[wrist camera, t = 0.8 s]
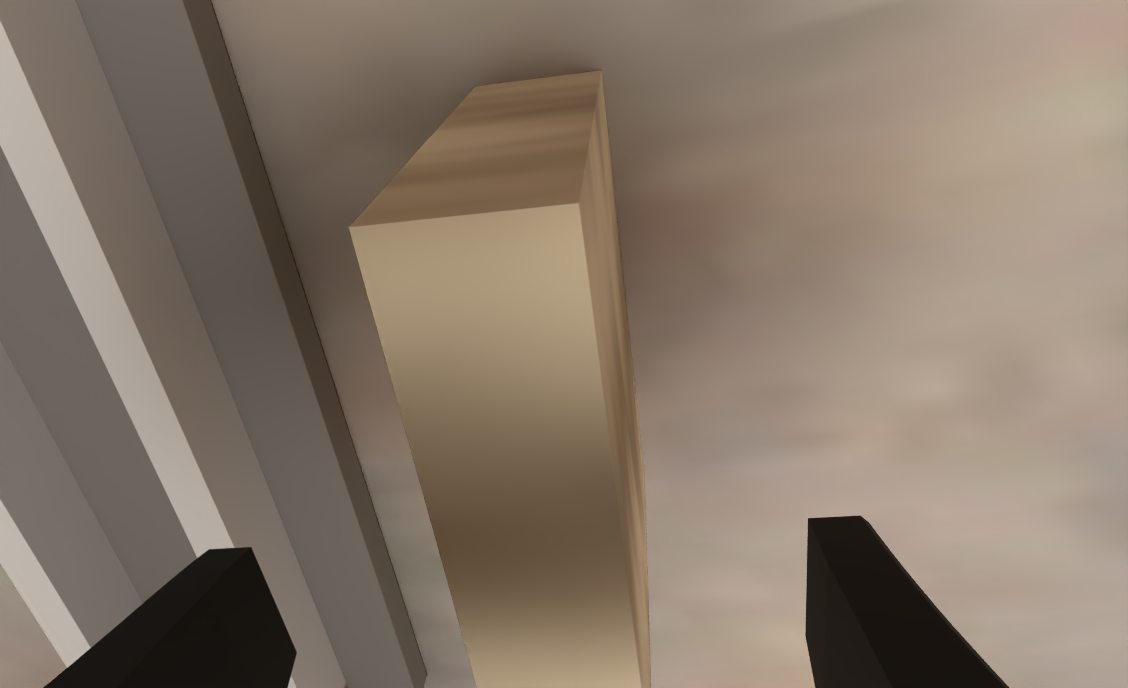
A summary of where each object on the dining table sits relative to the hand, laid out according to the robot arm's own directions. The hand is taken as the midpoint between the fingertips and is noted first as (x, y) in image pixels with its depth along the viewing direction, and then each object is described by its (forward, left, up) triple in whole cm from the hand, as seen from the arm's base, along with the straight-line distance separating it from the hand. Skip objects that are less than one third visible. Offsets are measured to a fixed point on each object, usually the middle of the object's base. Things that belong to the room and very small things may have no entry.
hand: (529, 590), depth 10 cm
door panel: (0, 0, -9) cm, 9 cm away
